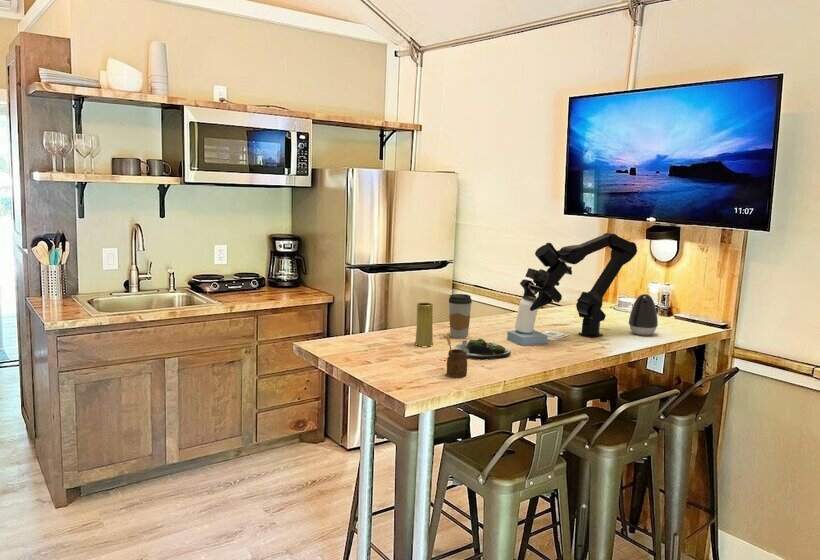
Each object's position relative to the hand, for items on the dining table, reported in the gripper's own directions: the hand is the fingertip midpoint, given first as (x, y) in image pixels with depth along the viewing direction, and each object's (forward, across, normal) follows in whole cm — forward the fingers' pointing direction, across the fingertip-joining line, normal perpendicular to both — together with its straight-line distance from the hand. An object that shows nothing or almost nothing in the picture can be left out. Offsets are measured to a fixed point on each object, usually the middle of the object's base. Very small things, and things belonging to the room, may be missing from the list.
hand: (525, 308), depth 226 cm
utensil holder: (+37, +27, -20) cm, 50 cm away
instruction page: (-2, -5, +19) cm, 19 cm away
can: (+6, -2, +7) cm, 9 cm away
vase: (+33, -8, -17) cm, 38 cm away
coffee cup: (+21, -14, -4) cm, 26 cm away
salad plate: (+24, +8, -7) cm, 26 cm away
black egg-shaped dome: (-26, +5, +44) cm, 51 cm away
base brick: (+8, 0, +9) cm, 12 cm away
